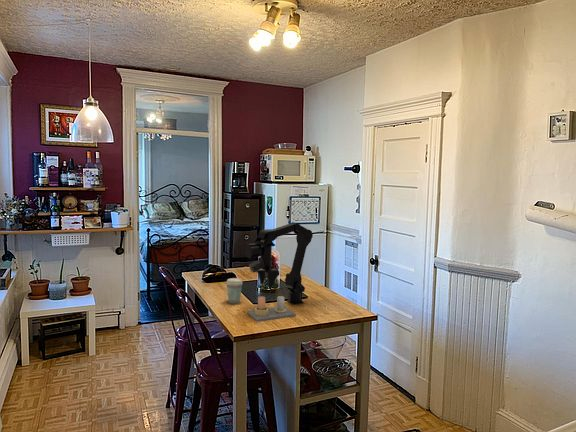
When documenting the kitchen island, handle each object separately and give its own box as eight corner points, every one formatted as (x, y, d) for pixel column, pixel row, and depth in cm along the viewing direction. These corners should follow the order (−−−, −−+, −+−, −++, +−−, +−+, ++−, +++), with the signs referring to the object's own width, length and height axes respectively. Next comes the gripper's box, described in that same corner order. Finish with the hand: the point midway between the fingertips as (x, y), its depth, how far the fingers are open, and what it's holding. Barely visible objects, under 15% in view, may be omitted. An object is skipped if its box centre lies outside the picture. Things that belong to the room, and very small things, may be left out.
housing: (283, 307, 219) (284, 292, 219) (295, 315, 208) (296, 299, 207) (246, 312, 211) (247, 296, 210) (257, 321, 199) (257, 304, 198)
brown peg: (263, 312, 209) (263, 296, 208) (266, 314, 206) (266, 297, 205) (256, 313, 208) (256, 296, 207) (259, 315, 205) (259, 298, 204)
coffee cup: (222, 301, 228) (223, 279, 226) (236, 298, 233) (236, 276, 232) (231, 305, 221) (232, 282, 220) (245, 302, 227) (245, 280, 225)
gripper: (243, 253, 219) (243, 283, 221) (258, 261, 203) (258, 293, 204) (263, 251, 224) (263, 280, 226) (279, 258, 208) (279, 290, 210)
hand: (265, 286), depth 216 cm, fingers open, 9 cm apart
